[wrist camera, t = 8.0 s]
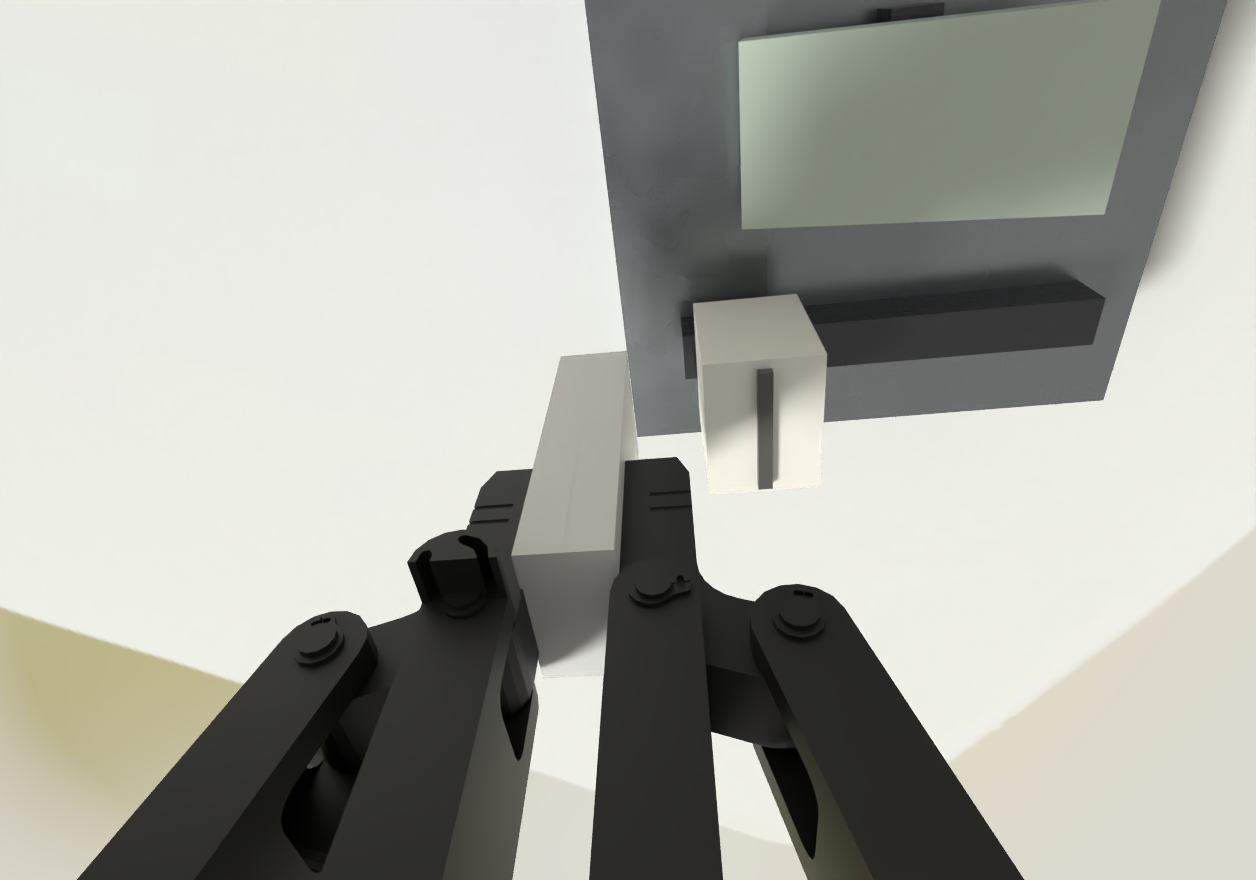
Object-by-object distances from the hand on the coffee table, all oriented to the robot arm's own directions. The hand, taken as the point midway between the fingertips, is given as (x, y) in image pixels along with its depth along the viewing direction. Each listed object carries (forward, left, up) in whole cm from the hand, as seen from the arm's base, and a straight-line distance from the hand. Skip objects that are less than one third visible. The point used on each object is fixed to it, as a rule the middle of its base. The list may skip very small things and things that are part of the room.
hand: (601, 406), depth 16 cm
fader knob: (0, +3, -1) cm, 4 cm away
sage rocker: (-5, +7, -1) cm, 9 cm away
